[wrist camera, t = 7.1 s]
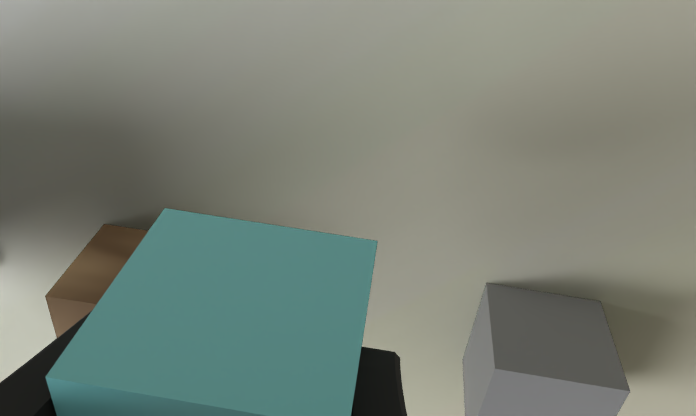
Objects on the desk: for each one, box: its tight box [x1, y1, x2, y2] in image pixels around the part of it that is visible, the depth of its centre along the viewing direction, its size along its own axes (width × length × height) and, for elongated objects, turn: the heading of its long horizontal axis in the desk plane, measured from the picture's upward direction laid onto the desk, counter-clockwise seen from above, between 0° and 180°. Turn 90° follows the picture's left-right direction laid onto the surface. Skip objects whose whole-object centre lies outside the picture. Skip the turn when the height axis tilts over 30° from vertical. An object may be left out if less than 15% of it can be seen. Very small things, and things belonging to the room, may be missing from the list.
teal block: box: [46, 208, 377, 416], centre depth 10 cm, size 4×4×4 cm
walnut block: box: [45, 224, 148, 338], centre depth 21 cm, size 4×4×4 cm
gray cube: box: [463, 283, 630, 416], centre depth 20 cm, size 4×4×4 cm
